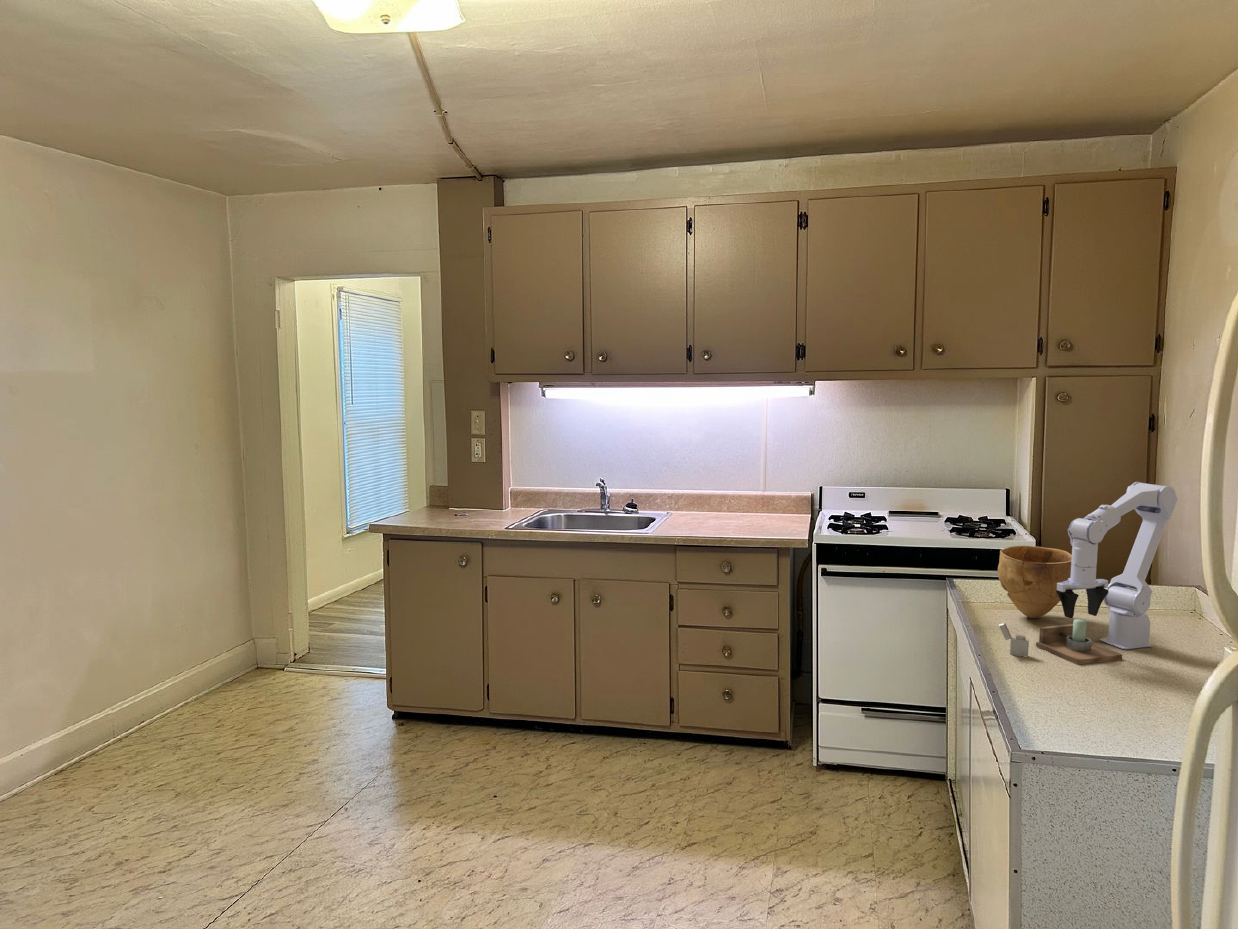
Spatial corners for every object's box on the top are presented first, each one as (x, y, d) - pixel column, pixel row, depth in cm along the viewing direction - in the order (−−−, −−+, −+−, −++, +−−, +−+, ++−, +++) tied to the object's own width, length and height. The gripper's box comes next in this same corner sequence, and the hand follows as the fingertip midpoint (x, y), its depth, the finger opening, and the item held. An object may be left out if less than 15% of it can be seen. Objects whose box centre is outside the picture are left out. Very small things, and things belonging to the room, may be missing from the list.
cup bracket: (1078, 641, 226) (1079, 623, 225) (1121, 659, 212) (1123, 639, 212) (1035, 646, 222) (1036, 627, 221) (1077, 664, 209) (1078, 644, 208)
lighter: (1028, 655, 215) (1029, 625, 214) (1027, 657, 214) (1029, 627, 213) (998, 650, 219) (999, 621, 218) (997, 652, 217) (998, 623, 217)
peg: (1079, 644, 219) (1081, 618, 218) (1087, 648, 216) (1089, 622, 215) (1069, 645, 218) (1070, 619, 217) (1077, 649, 215) (1078, 623, 214)
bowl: (1086, 629, 236) (1090, 560, 234) (1014, 629, 237) (1018, 560, 234) (1049, 607, 257) (1053, 544, 255) (983, 607, 257) (986, 544, 255)
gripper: (1093, 559, 220) (1090, 609, 222) (1048, 563, 216) (1045, 614, 218) (1116, 566, 213) (1112, 617, 215) (1070, 569, 209) (1067, 622, 211)
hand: (1080, 616), depth 216 cm, fingers open, 7 cm apart
